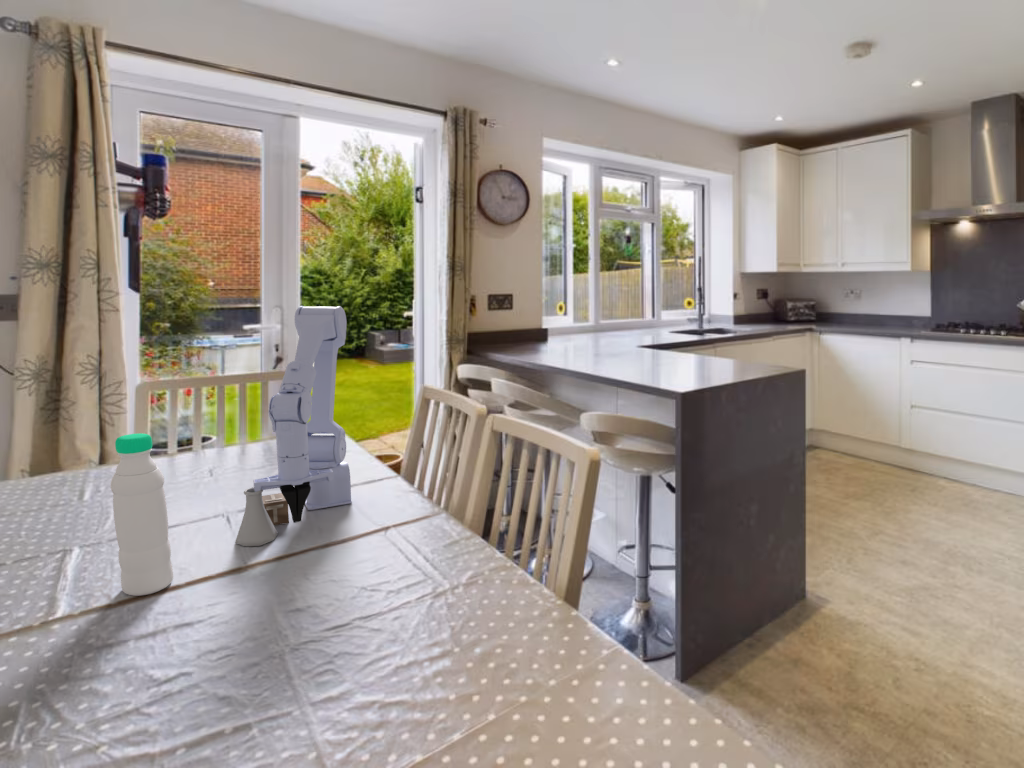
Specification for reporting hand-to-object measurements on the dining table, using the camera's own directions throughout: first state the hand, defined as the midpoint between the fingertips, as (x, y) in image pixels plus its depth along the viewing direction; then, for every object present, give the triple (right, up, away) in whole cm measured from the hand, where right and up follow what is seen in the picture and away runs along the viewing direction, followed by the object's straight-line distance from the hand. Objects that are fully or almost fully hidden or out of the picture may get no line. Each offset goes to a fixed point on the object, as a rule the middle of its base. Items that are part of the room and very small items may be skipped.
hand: (296, 520), depth 113 cm
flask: (-6, -3, -3) cm, 8 cm away
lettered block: (-7, -2, +6) cm, 9 cm away
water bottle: (-16, -6, -21) cm, 27 cm away
